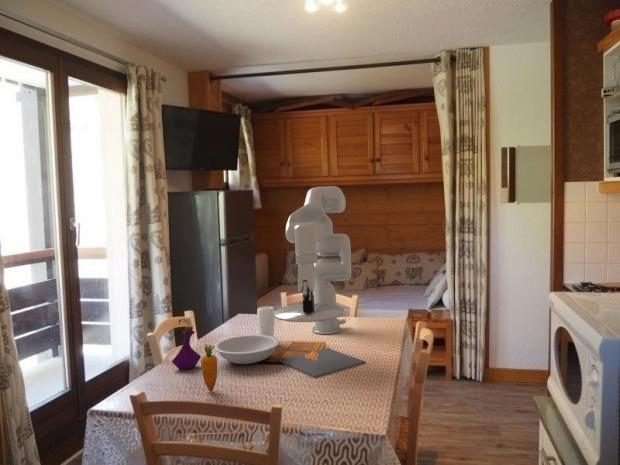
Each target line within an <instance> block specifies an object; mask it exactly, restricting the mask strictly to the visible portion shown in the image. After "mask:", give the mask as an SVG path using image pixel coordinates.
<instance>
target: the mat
mask: <svg viewBox="0 0 620 465" xmlns="http://www.w3.org/2000/svg"><path fill="white" fill-rule="evenodd" d="M316 351H317V352H318V356H317V360H316V361H315V362H312V361H313V360H312V359H310V358H309V359H308V358H305V354H306V353H307V352H306V353H302V354H299V355H295V356H291V357H286V358H283V359H279V360H278V362H279V361H280V362H282V363H281V364H283V365H285V366H287V367H290V368H291V369H294V370H297V372H301V373H303V374H305V375H307V376H310V377H312V378H314V379H315V378H316V379H317V378H319V377H323V376H326V375H330V374H333V373H336V372H341V371H343V370H346V369H350V368H354V367H357V366H360V365H363V364H366V360H363V359H360V358H358V357H355V356H351V355H348V354H347V353H343V352H340V351H337V350H335V349H332V348H328V347H326V348H322V349H318V350H316ZM306 357H307V356H306ZM280 362H279V363H280Z"/></svg>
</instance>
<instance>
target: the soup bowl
mask: <svg viewBox="0 0 620 465" xmlns="http://www.w3.org/2000/svg"><path fill="white" fill-rule="evenodd" d="M279 345H280V340H279V339H278V338H277V337H275V336H274V337H272V336H267V335H260V334H243V335H236V336H231V337H227V338H224V339H221V340H219V341H217V342H215V343H214V344H213V346H215V347H214V348H213V350H214V351H215V352H217V353H218V354H219V355H220V356H221V357H222V359H224V360H226V361H227V362H229V363H233V364H238V365H248V364H249V365H250V364H254V363H255V364H256V363H259V362H262V361H264V360H265V359H267V358H268V357H270V355H271V354H272V353H273V352H274V350H275V348H277V347H278V346H279Z"/></svg>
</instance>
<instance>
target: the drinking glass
mask: <svg viewBox="0 0 620 465" xmlns="http://www.w3.org/2000/svg"><path fill="white" fill-rule="evenodd" d="M274 311H275V309H274V307H273V306H260V307H257V311H256V314H257V323H258V324H257V325H258V331H259V335H267V336H272V337H275V317H274Z"/></svg>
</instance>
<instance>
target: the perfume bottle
mask: <svg viewBox="0 0 620 465" xmlns="http://www.w3.org/2000/svg"><path fill="white" fill-rule="evenodd" d="M181 321H184V323H186V324H187V326H185V327H184V331H183V332H182V335H184V341H183V343H182V346H181V348H180V349H179V351H178V352H177V353H176V356H175V357H174V358H173V359H172V360H171V363H172V364H173V365H174V366H176V368H177V369H178V370H183V371H190V370H192V369H194V368H195V367H196V366H197V365H198V363H199V361H200V360H201V358H202V356H201V355H200V354H199V353H198V352H196V351H195V350H194V349H193V347H191V337H192V336H193V335H194V334H195V331H194V330H193V329H194V327H193V326H190V324H189V320H188V318H187V317H182V318H180V319H178V324H181Z"/></svg>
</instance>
